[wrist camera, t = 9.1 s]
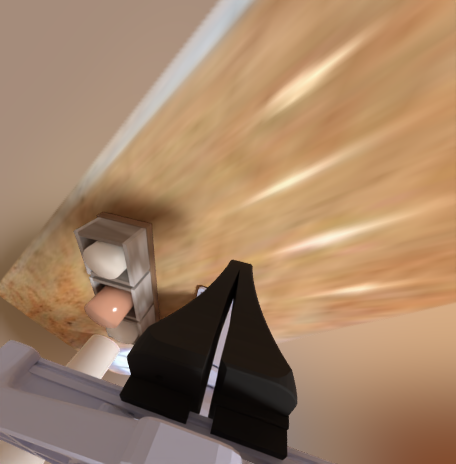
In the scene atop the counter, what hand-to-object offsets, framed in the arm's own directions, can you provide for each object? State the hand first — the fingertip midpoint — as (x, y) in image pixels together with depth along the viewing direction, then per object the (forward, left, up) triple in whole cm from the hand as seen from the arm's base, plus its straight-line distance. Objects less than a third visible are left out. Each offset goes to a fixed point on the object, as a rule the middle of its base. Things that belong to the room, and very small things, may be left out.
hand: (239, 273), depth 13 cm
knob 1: (-9, +15, -8) cm, 19 cm away
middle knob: (-16, +14, -6) cm, 22 cm away
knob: (-23, +13, -8) cm, 28 cm away
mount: (-16, +14, -9) cm, 23 cm away
